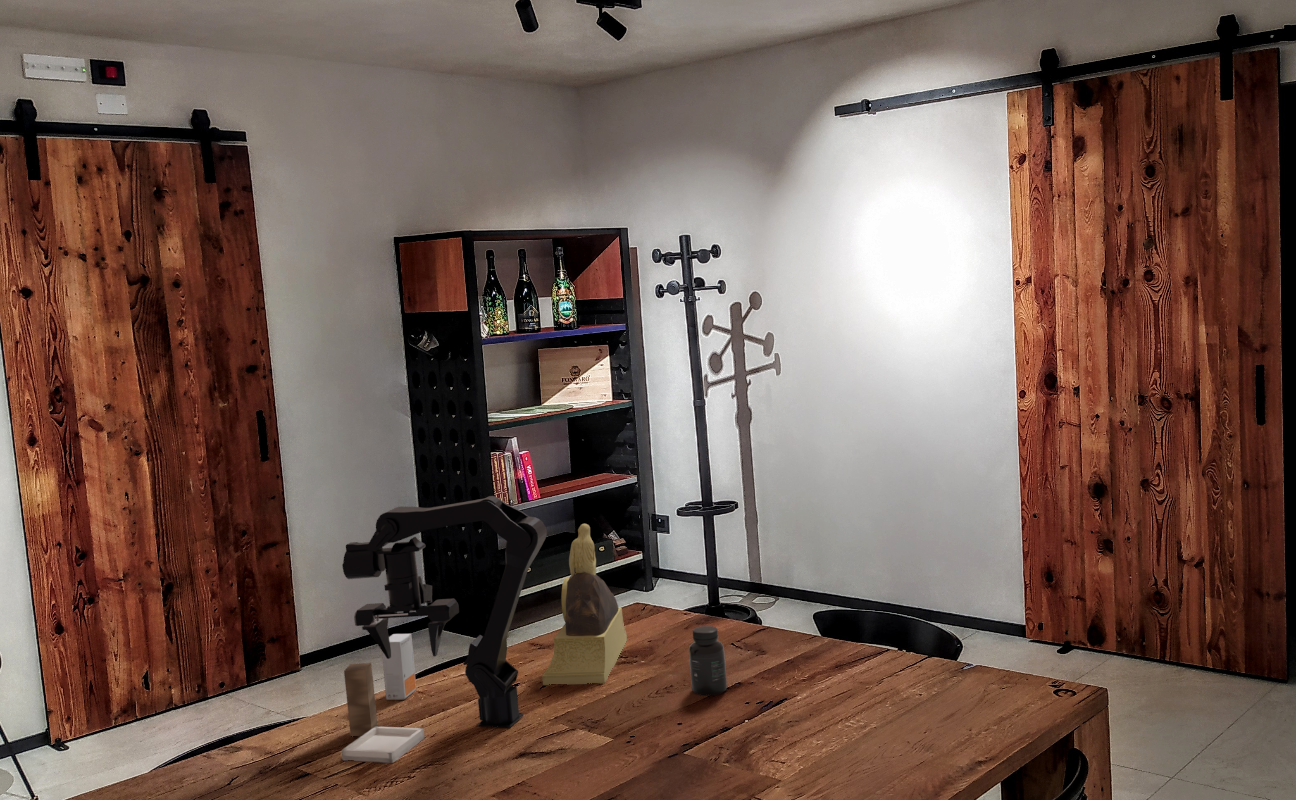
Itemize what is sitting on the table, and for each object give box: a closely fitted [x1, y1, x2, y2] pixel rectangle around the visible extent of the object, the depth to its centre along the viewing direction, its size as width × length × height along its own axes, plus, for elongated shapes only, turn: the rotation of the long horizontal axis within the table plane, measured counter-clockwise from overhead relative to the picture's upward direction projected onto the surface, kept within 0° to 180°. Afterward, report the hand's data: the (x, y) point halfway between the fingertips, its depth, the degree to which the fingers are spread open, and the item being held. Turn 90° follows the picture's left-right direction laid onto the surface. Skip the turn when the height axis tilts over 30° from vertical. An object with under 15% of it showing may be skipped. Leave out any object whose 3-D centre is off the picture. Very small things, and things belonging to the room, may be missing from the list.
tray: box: [341, 725, 425, 764], centre depth 194 cm, size 10×11×2 cm
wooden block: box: [343, 662, 379, 738], centre depth 203 cm, size 4×4×12 cm
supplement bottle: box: [688, 625, 728, 697], centre depth 211 cm, size 7×7×12 cm
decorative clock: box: [541, 523, 628, 686], centre depth 234 cm, size 28×13×30 cm, turn 172°
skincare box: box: [381, 633, 417, 701], centre depth 222 cm, size 6×4×12 cm
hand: (412, 656), depth 204 cm, fingers open, 9 cm apart
